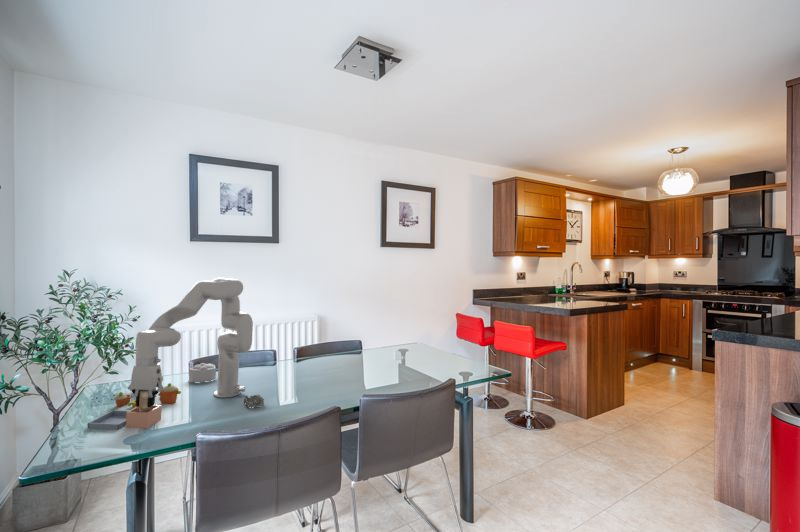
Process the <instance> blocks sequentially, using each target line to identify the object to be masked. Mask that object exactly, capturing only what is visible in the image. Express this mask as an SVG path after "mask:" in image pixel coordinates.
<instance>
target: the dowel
mask: <svg viewBox="0 0 800 532" xmlns="http://www.w3.org/2000/svg"><path fill="white" fill-rule="evenodd" d="M148 398H149V390H140V400H139V412H149V411H151V407H148Z"/></svg>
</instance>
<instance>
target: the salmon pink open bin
mask: <svg viewBox="0 0 800 532" xmlns="http://www.w3.org/2000/svg"><path fill="white" fill-rule="evenodd" d="M162 408H163V404H154V405H153V406H151V411H149V412H139V407H135V408H133V407H132V408H131V409H130V410H127V411H128V412H126V426H125V428H126V429H127V428H128V429H129V428H130V429H131V428H132V429H149V428H150V427H152V426H154V425H155V424H156V423H159V422H160V421H161V420H162V412H163V411H162Z"/></svg>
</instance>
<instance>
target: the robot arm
mask: <svg viewBox="0 0 800 532" xmlns="http://www.w3.org/2000/svg"><path fill="white" fill-rule="evenodd" d="M243 290H244V284H243V282H242V281H241V280H239V279H235V278H224V277H217V278H214V279H212V280H211V281H210V280H199V281H197V282H195V284H194V285H193V286H192V287H191V288H190V290H189V291H188V292H187V293H186V295H185V296H183V298H182V299H181V301H179V303H178V304H176V305H174V306H173V307H171V308H170V309H168V310H167V311H166V312H163V313H162V314H161V315H160V316H158V317H157V318H156V320H155V321H154V322H153V323H152V324H151V326H150V327H149V328H148V329H147V330H141V331H139V332H137V334H136V340H135V342H136V344H135V346H136V347H135V364H134V365H133V368H132V373H131V378H130V384H129V385H128V386H127V389H128V391H130V392H132V394H133V395H134V397H135V400H136V407H139V400H140V390H149V398H148V407H151V406H153V405H155V403H156V397H155V395H156V396H157V395H158V394H159V393H160V391H162V390H163V389H164V386H163V381H162V376H163V373H162V366H161V361H162V360H161V358H159V348H163V347H164V348H165V347H172V346H173V347H174V346H175V345H177V344H178V343H180V341H181V339H182V336H181V332H180V331H179V330H177V329H176V328H172V327H173V325H175V324H176V323H178V322H181V321H183V320H186V319H189V318H193V317H194V316H196V315H197V314H198V313H199V311H200V310H201V309H202V308H203V307H204V305H205V303H206V302H207V301H208V300H212V301H220V302H221V316H220V317H221V319H220V321H221V322H220V323H221V327H222V328H223V329H225V330H229V331H224V332H222V333H220V335H219V336H218V338H217V343H216V344H217V350H218V366H217V367H218V369H217V371H218V372H217V389H216V390H214V392H213V396H214V397H216V398H221V399H224V398H226V399H227V398H232V397H233V398H234V397H236V396H238V395H240V394H241V393H242V392H243V393H244V392H246V390H247V389H246V386H241V384H240V383H239V370H240V369H239V368H240V366H239V365H240V356H239V354H245V353H248V352H249V351H250V350H251V348H252V345H253V331H254V330H253V325H254V322H253V318H252V316H251V314H249V313H247V312H243V311H241V302H240V297H239V296H240V295H242V293H243V292H244V291H243ZM233 331H234V332H233Z"/></svg>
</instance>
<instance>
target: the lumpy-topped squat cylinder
mask: <svg viewBox="0 0 800 532" xmlns="http://www.w3.org/2000/svg"><path fill="white" fill-rule="evenodd" d="M216 375H217V367H216V365H215V364H213V363H206V362H205V363H204V362H201V363H200V364H195V365H194V366H191V367H190V368H189V373H188V382H189V381H190V382H189V383H191V382H205V381H211V380H214V379H217V377H216Z"/></svg>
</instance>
